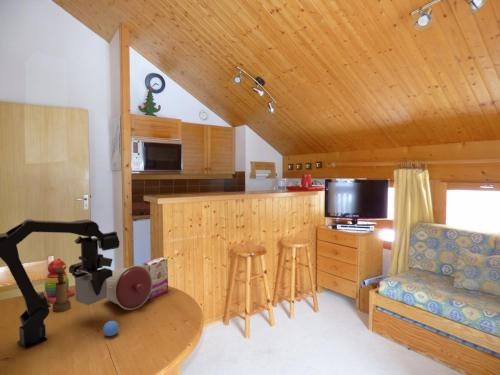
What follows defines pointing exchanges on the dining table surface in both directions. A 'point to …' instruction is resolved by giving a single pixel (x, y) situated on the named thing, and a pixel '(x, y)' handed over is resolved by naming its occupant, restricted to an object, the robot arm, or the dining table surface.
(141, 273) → the canister
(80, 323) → the dining table surface
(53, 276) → the stacking bear
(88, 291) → the grey matte cube
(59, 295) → the brown turned post
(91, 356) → the dining table surface
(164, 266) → the candy bar box
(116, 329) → the ball
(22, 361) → the dining table surface
